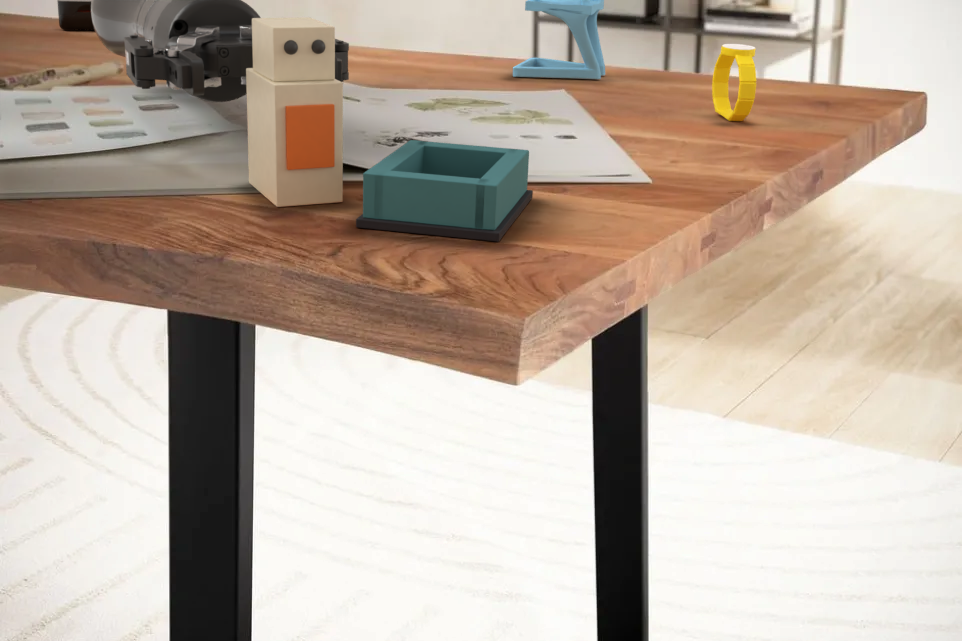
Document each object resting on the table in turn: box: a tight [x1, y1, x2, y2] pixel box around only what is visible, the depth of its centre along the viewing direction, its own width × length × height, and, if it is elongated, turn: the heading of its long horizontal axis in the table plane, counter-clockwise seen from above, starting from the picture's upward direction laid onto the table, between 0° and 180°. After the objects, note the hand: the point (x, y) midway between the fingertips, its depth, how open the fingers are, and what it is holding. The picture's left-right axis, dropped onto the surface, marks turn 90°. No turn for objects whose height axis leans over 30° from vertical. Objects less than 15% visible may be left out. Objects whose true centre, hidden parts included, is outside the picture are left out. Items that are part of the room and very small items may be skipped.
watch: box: [711, 43, 757, 122], centre depth 102 cm, size 6×3×6 cm, turn 12°
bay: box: [355, 139, 534, 243], centre depth 70 cm, size 10×8×3 cm
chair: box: [512, 0, 606, 80], centre depth 119 cm, size 8×8×12 cm
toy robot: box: [246, 16, 344, 208], centre depth 72 cm, size 6×4×10 cm, turn 25°
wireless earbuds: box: [56, 0, 95, 31], centre depth 139 cm, size 5×7×3 cm, turn 105°
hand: (267, 76), depth 76 cm, fingers open, 8 cm apart
